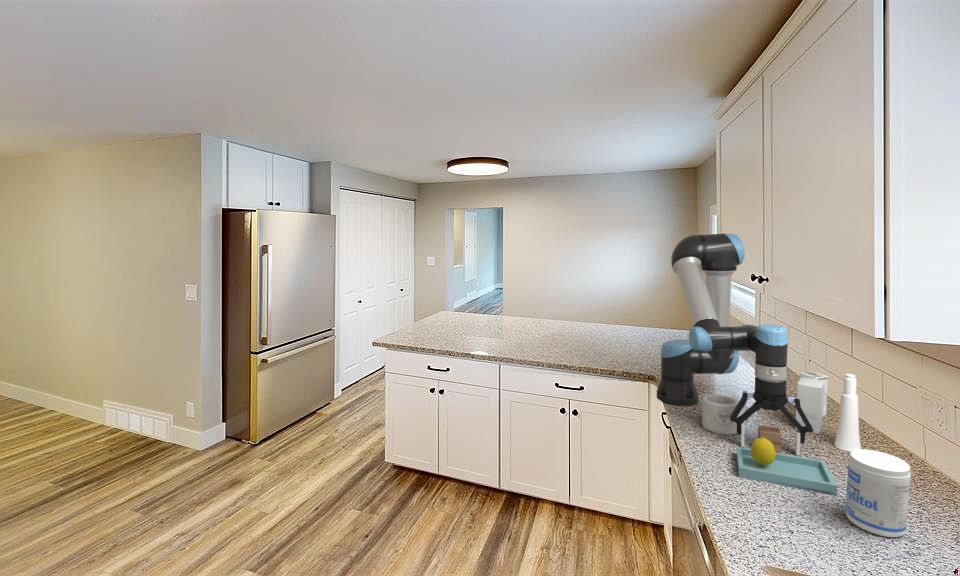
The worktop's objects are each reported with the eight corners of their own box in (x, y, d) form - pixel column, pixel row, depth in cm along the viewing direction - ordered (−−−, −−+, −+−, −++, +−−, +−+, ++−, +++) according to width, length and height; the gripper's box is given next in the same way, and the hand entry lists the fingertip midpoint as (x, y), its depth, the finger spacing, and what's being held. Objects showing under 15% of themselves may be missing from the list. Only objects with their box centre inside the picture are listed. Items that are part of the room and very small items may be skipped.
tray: (736, 454, 121) (736, 446, 121) (824, 469, 111) (824, 460, 111) (738, 476, 110) (739, 467, 110) (836, 495, 100) (837, 485, 100)
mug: (705, 433, 136) (705, 403, 135) (699, 420, 146) (699, 392, 145) (753, 437, 131) (754, 406, 130) (743, 423, 141) (744, 395, 141)
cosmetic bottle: (865, 449, 121) (868, 375, 119) (855, 454, 118) (858, 379, 116) (840, 441, 127) (842, 370, 125) (830, 446, 124) (832, 373, 122)
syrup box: (797, 411, 149) (798, 372, 148) (811, 410, 150) (812, 370, 149) (813, 418, 144) (814, 376, 142) (827, 416, 145) (828, 375, 143)
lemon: (749, 467, 113) (749, 438, 112) (752, 459, 117) (752, 431, 116) (774, 473, 109) (774, 444, 109) (776, 464, 114) (776, 436, 113)
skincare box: (799, 421, 142) (800, 376, 140) (824, 426, 137) (825, 380, 136) (794, 429, 136) (795, 382, 134) (820, 435, 131) (822, 386, 130)
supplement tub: (835, 518, 92) (838, 454, 91) (859, 506, 96) (862, 444, 95) (893, 545, 83) (896, 475, 82) (916, 531, 87) (920, 463, 86)
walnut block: (758, 444, 127) (758, 425, 126) (778, 447, 125) (778, 428, 124) (759, 451, 123) (760, 431, 122) (780, 455, 120) (781, 435, 120)
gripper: (721, 377, 124) (721, 446, 126) (828, 387, 112) (825, 463, 114) (721, 370, 131) (720, 436, 133) (821, 379, 119) (819, 451, 121)
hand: (769, 448), depth 123 cm, fingers open, 13 cm apart
